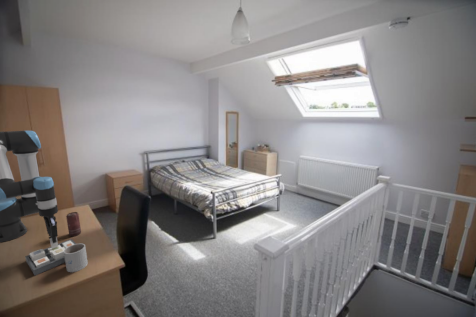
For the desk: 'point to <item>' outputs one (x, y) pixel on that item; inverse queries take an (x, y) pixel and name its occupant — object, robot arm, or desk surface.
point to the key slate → (37, 255)
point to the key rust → (41, 262)
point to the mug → (75, 257)
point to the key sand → (58, 253)
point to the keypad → (53, 262)
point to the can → (73, 224)
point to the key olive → (53, 250)
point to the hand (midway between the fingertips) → (54, 247)
